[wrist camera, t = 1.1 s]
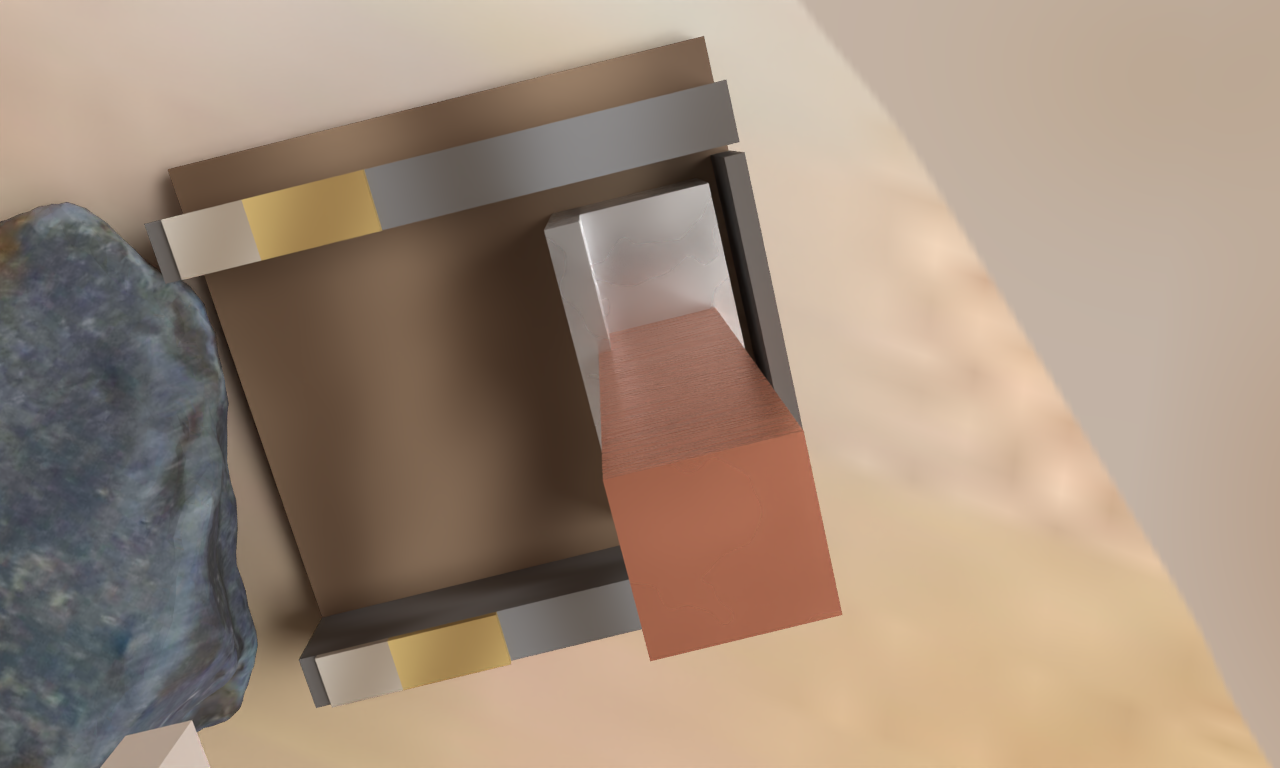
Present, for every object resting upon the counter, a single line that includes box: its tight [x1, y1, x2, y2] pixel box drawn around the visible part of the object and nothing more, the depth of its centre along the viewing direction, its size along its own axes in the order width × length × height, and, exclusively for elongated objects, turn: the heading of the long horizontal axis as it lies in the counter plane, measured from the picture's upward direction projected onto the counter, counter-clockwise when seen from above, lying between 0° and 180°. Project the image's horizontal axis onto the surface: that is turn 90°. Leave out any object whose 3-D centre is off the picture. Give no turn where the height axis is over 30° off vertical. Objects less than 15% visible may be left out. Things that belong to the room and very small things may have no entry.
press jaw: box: [544, 178, 842, 661], centre depth 22 cm, size 4×9×14 cm, turn 14°
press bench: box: [144, 36, 803, 708], centre depth 28 cm, size 14×16×4 cm
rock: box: [0, 202, 258, 768], centre depth 29 cm, size 16×8×10 cm
